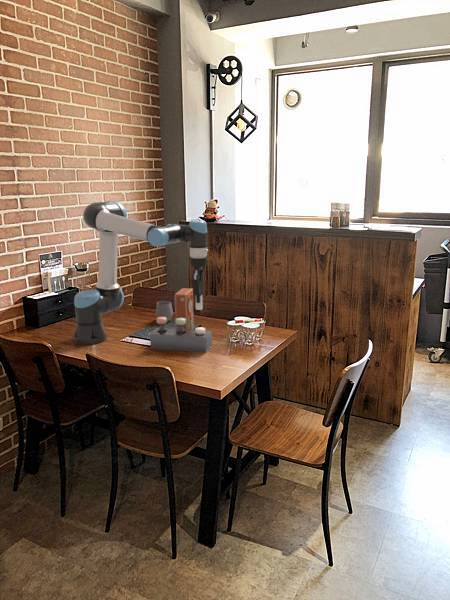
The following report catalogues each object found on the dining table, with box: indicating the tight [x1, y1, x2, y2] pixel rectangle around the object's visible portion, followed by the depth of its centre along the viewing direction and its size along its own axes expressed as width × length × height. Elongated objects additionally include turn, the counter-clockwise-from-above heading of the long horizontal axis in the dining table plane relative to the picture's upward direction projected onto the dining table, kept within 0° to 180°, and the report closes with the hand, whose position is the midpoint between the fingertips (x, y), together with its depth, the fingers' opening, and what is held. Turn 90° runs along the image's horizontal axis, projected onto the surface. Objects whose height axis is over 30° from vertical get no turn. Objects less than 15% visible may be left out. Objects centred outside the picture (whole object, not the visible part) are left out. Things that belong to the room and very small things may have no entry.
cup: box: [155, 300, 174, 322], centre depth 269 cm, size 10×9×10 cm
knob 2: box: [194, 326, 206, 335], centre depth 226 cm, size 5×5×8 cm
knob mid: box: [175, 318, 186, 334], centre depth 227 cm, size 5×5×8 cm
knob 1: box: [155, 317, 168, 333], centre depth 228 cm, size 5×5×8 cm
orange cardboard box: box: [174, 287, 195, 330], centre depth 246 cm, size 21×7×15 cm
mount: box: [149, 327, 213, 353], centre depth 228 cm, size 26×10×7 cm, turn 78°
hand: (199, 309), depth 223 cm, fingers closed
